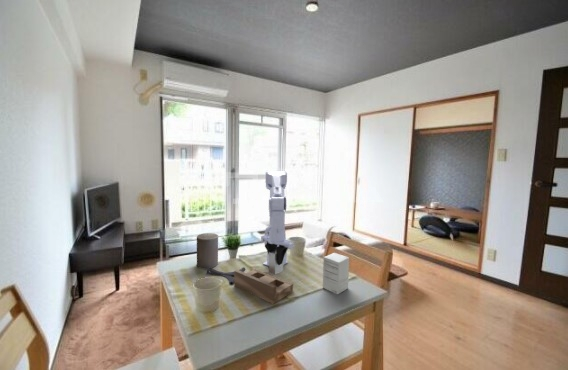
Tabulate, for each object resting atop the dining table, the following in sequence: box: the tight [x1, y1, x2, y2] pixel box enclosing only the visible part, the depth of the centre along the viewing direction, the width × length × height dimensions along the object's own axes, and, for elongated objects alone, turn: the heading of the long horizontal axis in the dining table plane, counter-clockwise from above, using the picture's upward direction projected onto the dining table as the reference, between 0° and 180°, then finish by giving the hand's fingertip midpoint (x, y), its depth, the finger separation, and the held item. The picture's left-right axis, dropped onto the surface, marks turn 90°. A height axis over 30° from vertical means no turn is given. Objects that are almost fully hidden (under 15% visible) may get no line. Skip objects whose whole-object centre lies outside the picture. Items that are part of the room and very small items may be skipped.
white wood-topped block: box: [268, 250, 284, 276], centre depth 102 cm, size 6×3×8 cm, turn 142°
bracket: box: [206, 266, 246, 285], centre depth 113 cm, size 14×15×3 cm
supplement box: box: [322, 252, 350, 295], centre depth 103 cm, size 7×7×13 cm
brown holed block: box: [233, 268, 294, 305], centre depth 101 cm, size 12×20×6 cm, turn 52°
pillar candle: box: [196, 232, 219, 270], centre depth 122 cm, size 10×10×15 cm
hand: (276, 262), depth 101 cm, fingers closed on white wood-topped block, 3 cm apart
